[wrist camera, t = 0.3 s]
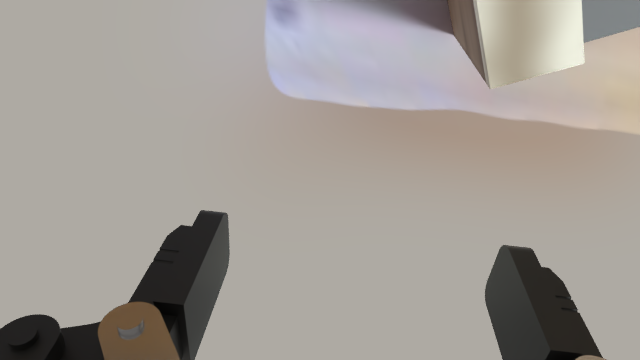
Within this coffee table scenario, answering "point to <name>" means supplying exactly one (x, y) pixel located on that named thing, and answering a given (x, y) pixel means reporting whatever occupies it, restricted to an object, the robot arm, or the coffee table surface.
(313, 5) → the coffee table surface
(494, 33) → the brown wooden block
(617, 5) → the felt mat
